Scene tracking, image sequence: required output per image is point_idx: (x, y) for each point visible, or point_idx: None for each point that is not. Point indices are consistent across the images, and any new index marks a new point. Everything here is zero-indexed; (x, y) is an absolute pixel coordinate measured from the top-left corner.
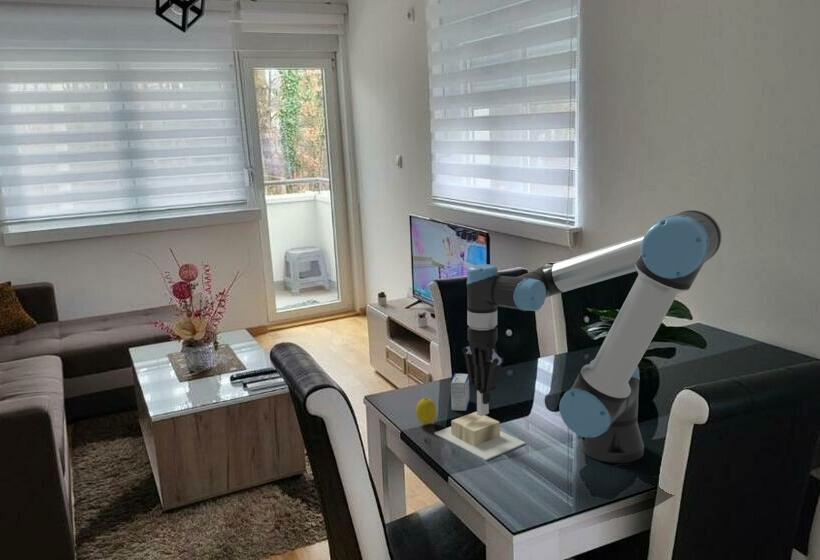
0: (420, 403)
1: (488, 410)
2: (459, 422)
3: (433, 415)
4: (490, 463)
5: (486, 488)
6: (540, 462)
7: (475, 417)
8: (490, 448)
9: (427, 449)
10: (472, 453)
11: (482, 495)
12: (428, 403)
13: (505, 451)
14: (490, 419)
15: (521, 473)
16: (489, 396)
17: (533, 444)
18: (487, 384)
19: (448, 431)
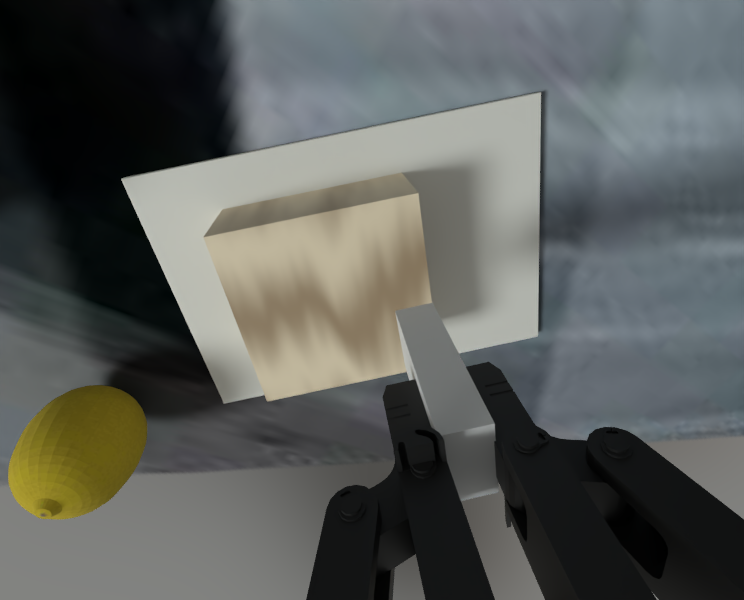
0: (76, 516)
1: (438, 314)
2: (309, 379)
3: (135, 422)
4: (560, 326)
5: (661, 403)
6: (703, 148)
7: (288, 284)
8: (480, 278)
9: (340, 455)
10: (461, 349)
11: (676, 425)
12: (94, 491)
13: (538, 234)
14: (358, 223)
15: (692, 269)
16: (520, 404)
17: (566, 52)
18: (642, 570)
19: (238, 355)
